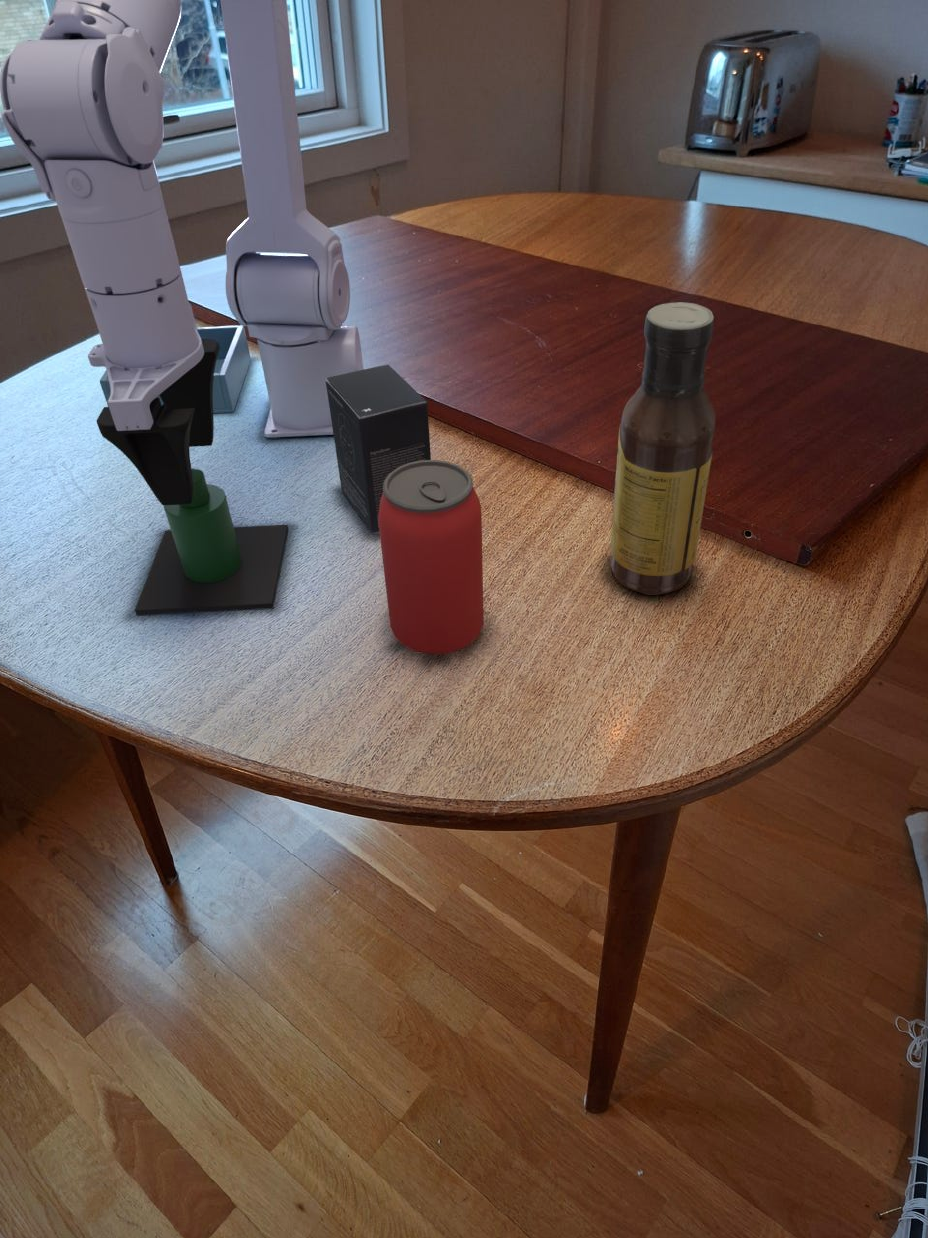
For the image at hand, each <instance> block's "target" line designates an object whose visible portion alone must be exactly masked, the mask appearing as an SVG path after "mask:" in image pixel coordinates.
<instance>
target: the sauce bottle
mask: <svg viewBox="0 0 928 1238" xmlns="http://www.w3.org/2000/svg"><path fill="white" fill-rule="evenodd" d="M713 314H714V313H713V312H712V310H710V309H709V308H707V307H705V306H703V305H700V304H698V303H693V302H685V301H683V302H682V301H678V302H667V303H662V304H658V305H655V306H654V307H652V308H650V309H649V310H648V311H647V314H646V316H645V318H644V320H645V321H644V327H643V335H644V336H643V337H644V340H645V341H646V342H645V354H644V365H643V370H642V373H641V384H640V386H639V387H638V389H636V391H635V393H634V394H633V395H632V396H631V397H629V400H628V401H627V402H626V404H625V406H624V408H623V410H622V414H621V420H620V425H619V429H618V440H617V455H616V465H615V466H616V469H615V479H614V487H613V488H614V491H613V503H612V518H611V533H610V544H609V545H610V546H609V547H610V554H611V555H610V560H609V561H610V567H611V571H612V574H613V575H614V577H615V579H616V580H617V582H619V584H620V585H622V586H624V587H625V588H628V589H630V590H632V591H635V592H638V593H641V594H643V595H649V596H659V595H663V594H669V593H672V592H674V591H678V590H679V589H681V588H682V587H684V586H685V585H686V583H687V582H688V580H689V579H690V576H691V574H692V571H693V565H694V562H695V561H696V560H695V559H697V551H698V545H699V539H700V533H701V528H702V527H701V525H702V519H703V514H704V513H703V512H704V507H705V501H706V496H707V489H708V483H709V477H710V472H711V471H710V469H711V465H712V457H713V441H714V435H715V431H716V422H717V421H716V412H715V409H714V406H713V404H712V402H710V399H709V397H708V395H707V393H706V392H705V389H704V383H705V380H706V375H705V366H706V363H707V355H708V354H707V353H708V347H709V344H710V343H711V340H712V338H713V332H714V323H715V317H714V315H713Z"/></svg>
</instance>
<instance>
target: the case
mask: <svg viewBox="0 0 928 1238" xmlns="http://www.w3.org/2000/svg"><path fill="white" fill-rule="evenodd" d="M196 327H197V331H198V333H199V335H200V338H213V339H216V340H217V341H218V342H219V347H220V349H219V353H218V357H217V360H216V365H215V371H214V379H213V414H223V413H224V414H225V413H234V411H235V408H236V405H237V403H238V399H239V397H240V393H241V391H242V387H243V385H244V382H245V379H246V376H247V373H248V370H249V367H250V364H251V361H252V357H251V354H250V348H249V344H248V338H247V334H246V329H245V326H243V325H241V324H239V325H220V326H219V325H218V326H199V327H198V326H196ZM99 384H100V386H101V390H102V392H103V396H104V399H105V402H106V405H107V407H109V406H108V403H107V401H108V399H109V397H110V394H111V388H110V383H109V379H108V374H107V370H105V371H104V373H103V374H102V375H101V378H100V380H99ZM156 398H159V399H160V402H161V406H162V405H163V404H164V403H163V401H162V399H161V397H160V395H158V396H157V397H156Z"/></svg>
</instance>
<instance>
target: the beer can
mask: <svg viewBox="0 0 928 1238" xmlns="http://www.w3.org/2000/svg"><path fill="white" fill-rule="evenodd" d="M473 480H474V479H473V477H472V476H471V474H470V473H469V471H468V470H466V469H465V468H464V467H462V466H460V465H459V464H456V463H453V462H450V461H448V460H447V461H446V460H439V459H431V460H421V461H416V462H411V463H408V464H405V465H403V466H400V467H398V468H397V469H395V470H394V471H392V472H391V473H390V474H389V475H388V476H387V477H386V479H385V480H384V483H383V494H382V497H381V500H380V507H379V515H378V524H379V533H378V534H379V541H380V551H381V558H382V567H383V574H384V583H385V590H386V591H385V592H386V601H387V609H388V617H389V626H390V630H391V632H392V635H393V636H394V638H395V639H397V641H398V642H399V643H400V644H401V645H402V646H403V647H405V648H407V649H409V650H412V651H413V652H416V653H420V654H425V655H429V656H430V655H431V656H432V655H436V656H437V655H446V654H451V653H455V652H458V651H460V650H461V649H463V648H466V647H468V646H470V645H471V644H472V642H474V641H475V640H476V639H477V638H478V637H479V635H480V633H481V631H482V629H483V627H484V623H485V620H484V617H485V616H484V573H483V570H484V569H483V566H484V565H483V518H482V517H483V516H482V504H481V501H480V498H479V496H478V494H477V492H476V490H475V488H474V484H473Z"/></svg>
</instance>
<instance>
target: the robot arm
mask: <svg viewBox="0 0 928 1238" xmlns="http://www.w3.org/2000/svg"><path fill="white" fill-rule="evenodd" d="M287 2H288V1H287V0H220V7H221V15H222V22H223V30H224V38H225V45H226V53H227V61H228V68H229V69H228V70H229V76H230V83H231V91H232V92H231V93H232V100H233V108H234V116H235V122H236V129H237V137H238V138H237V139H238V145H239V153H240V160H241V161H240V162H241V168H242V175H243V176H242V177H243V183H244V184H243V185H244V191H245V199H246V207H247V213H248V214H247V215H248V217H247V218H246V219H245V220H244V221H243V222H242V223H241V224H240V225H239V226H237V228H236V229H235V230H234V231H233V232H232V233H231V234H230V236H229V237H228V238H227V240H226V241H225V257H226V272H225V273H226V274H225V297H226V299H227V300H226V301H227V304H228V308H229V310H230V312H231V314H232V316H233V317H234V318H235V320H236V321H237V322H238V324H239V325H243V326H244V327H247V331H248V336H249V338H254V339H255V338H256V341H257V347H258V352H259V356H260V361H261V366H262V372H263V377H264V381H265V386H266V392H267V397H268V402H269V406H270V407H269V412H268V416H267V420H266V424H265V427H264V430H263V433H264V434H263V435H264V437H265V438H268V439H269V438H290V437H291V438H293V437H309V436H311V437H312V436H330V435H331V436H334V434H333V428H332V421H331V414H330V408H329V401H328V394H327V388H326V382H325V380H326V378H328V377H332V376H337V375H342V374H346V373H350V372H355V371H359V370H364V363H363V354H362V353H363V352H362V346H361V338H360V333H359V328H358V327H357V326H354V325H343V324H344V323H345V322H346V320H347V318H348V315H349V311H350V305H351V304H350V303H351V287H350V285H351V284H350V278H349V273H348V269H347V267H346V263H345V259H344V252H343V244H342V242H341V238H340V236H339V235H338V234H337V233H335V231H333V230H332V229H331V228H330V227H328V226H327V225H325V224H324V223H323V222H321V220H319V219H318V218H317V217H315V216H314V215H312V214H311V212H309V210H308V208H307V201H306V190H305V181H304V180H305V179H304V168H303V160H302V159H303V157H302V149H301V148H302V147H301V137H300V129H299V119H298V118H299V117H298V107H297V106H298V105H297V96H296V87H295V85H296V84H295V76H294V74H295V73H294V65H293V64H294V63H293V55H292V46H291V36H290V35H291V33H290V26H289V25H290V24H289V23H290V22H289V12H288V3H287ZM181 16H182V0H56V2H55V4H54V6H53V8H52V11H51V12H50V15H49V16H48V20H47V21H46V24H45V26H44V28H43V31H42V33H41V34H40V37H39V39H27V40H22V41H20V42H19V43H17V44H16V45H15V47H14V48H13V50H12V51H11V53H10V54H8V55H7V56H6V57H5V59H4V61H3V62H2V64H1V65H2V66H1V68H0V98H1V104H2V108H3V112H1V113H0V117H1V120H2V122H3V125H4V128H5V129H6V131H7V134H8V136H9V137H10V139H11V141H12V142H13V144H14V146H15V147H16V148H17V149H18V151H19V152H20V153H21V154H22V156H23V157H25V158H26V159H27V161H28V163H30V165H31V166H32V169H33V170H34V173H35V175H36V179H37V181H38V184H39V187H40V190H41V192H42V193H44V194H45V195H46V198H47V199H48V200H50V201H52V202H54V203H55V202H56V205H57V206H56V207H57V208H58V213H59V215H60V217H61V220H62V224H63V227H64V229H65V233H66V236H67V240H68V242H69V245H70V248H71V251H72V255H73V257H74V261H75V264H76V267H77V269H78V273H79V276H80V280H81V282H82V285H83V288H84V291H85V295H86V297H87V300H88V304H89V306H90V309H91V312H92V315H93V318H94V321H95V325H96V327H97V330H98V333H99V336H100V339H101V342H102V343H99V344H96V345H93V346H92V349H91V350H90V351H89V353H88V354H87V359H88V361H89V364H90V366H92V367H94V368H95V367H96V368H100V367H102V368H105V369H106V370H107V374H108V379H109V383H110V388H111V394H110V397H109V399H108V401H107V402H106V404H107V403H108V405H107V406H104V407H103V408H102V410H101V411H100V413H99V415H98V417H97V418H96V424H97V428H98V430H99V432H100V434H101V436H102V437H103V438H104V439H106V441H108V442H109V443H111V444H112V445H113V446H114V447H116V449H118V450H119V451H120V452H121V453H123V455H124V456H125V457H126V458H127V459H128V460H129V461H130V462H131V463H132V464H133V466H134V468H136V469H137V471H138V473H139V474H140V475H141V477H142V478H143V480H144V481H145V483H146V484H147V486H148V488H149V489H150V491H151V492H152V493H153V495H154V496H155V498H156V499H157V500H158V502H159V503H160V504H161V505H162V506H164V505H181V504H191V503H192V500H193V493H194V485H193V476H192V470H191V468H192V463H191V455H190V453H191V452H190V448H192V447H212V445H213V442H214V435H215V434H214V433H215V431H214V429H215V428H214V427H215V426H214V423H215V422H214V413H213V379H214V371H215V365H216V360H217V357H218V353H219V349H220V347H219V342H218V341H217V340H216V339H213V338H200V335H199V333H198V331H197V327H198V326H197V323H196V319H195V315H194V311H193V307H192V304H191V303H190V302H189V298H188V294H187V289H186V285H185V282H184V276H183V274H182V273H183V272H182V269H181V265H180V261H179V257H178V254H177V253H178V252H177V249H176V246H175V242H174V237H173V233H172V230H171V225H170V220H169V218H168V213H167V209H166V206H165V201H164V196H163V192H162V189H161V185H160V180H159V175H158V173H157V169H156V165H155V164H156V163H155V161H154V160H155V159H156V158H157V155H158V154H159V151H160V150H161V149H162V148H163V143H164V131H165V130H164V129H165V128H164V127H165V126H164V111H163V101H164V96H165V93H166V91H165V90H164V88H165V81H164V79H163V77H162V74H161V73H162V69H163V66H164V64H165V61H166V59H167V56H168V53H169V50H170V47H171V45H172V42H173V40H174V36H175V34H176V31H177V28H178V26H179V23H180V20H181ZM106 370H105V371H106ZM158 395H160V397H161V399H162V401H163V403H164V404H163V405H162V406H161V402H160V399H159V398H156V397H157V396H158ZM108 406H109V407H108Z"/></svg>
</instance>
